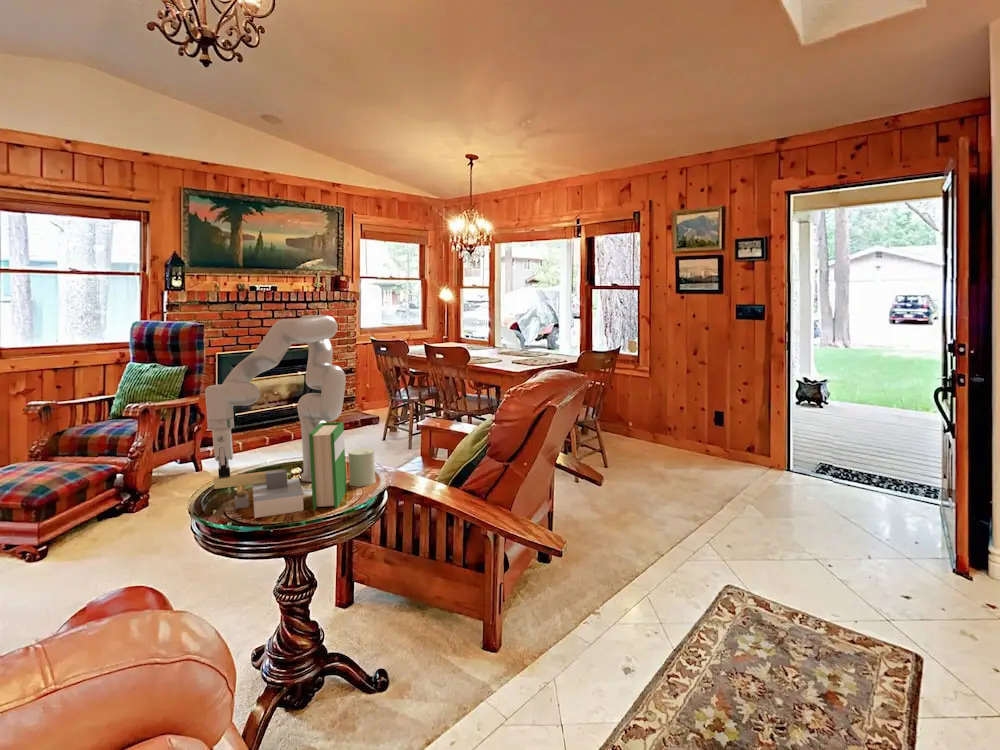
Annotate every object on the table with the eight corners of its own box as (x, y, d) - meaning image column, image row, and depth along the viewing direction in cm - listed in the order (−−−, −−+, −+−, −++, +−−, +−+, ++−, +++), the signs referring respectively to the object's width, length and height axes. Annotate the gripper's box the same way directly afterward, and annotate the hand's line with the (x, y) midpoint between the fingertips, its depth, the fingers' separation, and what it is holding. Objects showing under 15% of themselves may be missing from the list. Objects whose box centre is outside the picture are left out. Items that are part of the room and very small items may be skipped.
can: (362, 488, 196) (361, 454, 195) (343, 484, 201) (342, 451, 200) (381, 481, 204) (379, 448, 203) (362, 477, 209) (361, 445, 208)
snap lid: (299, 482, 187) (297, 463, 186) (302, 495, 174) (301, 474, 173) (253, 488, 181) (251, 469, 180) (253, 501, 168) (252, 480, 168)
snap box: (299, 495, 189) (298, 481, 188) (303, 510, 175) (302, 495, 174) (235, 504, 181) (234, 489, 180) (234, 521, 167) (233, 504, 166)
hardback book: (337, 508, 176) (333, 433, 174) (313, 509, 176) (309, 434, 173) (346, 490, 194) (343, 422, 191) (324, 491, 193) (320, 422, 190)
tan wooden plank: (283, 489, 186) (281, 469, 185) (283, 491, 183) (282, 471, 183) (215, 498, 177) (213, 477, 177) (214, 500, 175) (213, 479, 174)
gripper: (233, 426, 173) (237, 484, 175) (234, 418, 186) (238, 472, 188) (205, 429, 170) (210, 488, 172) (209, 420, 183) (213, 475, 185)
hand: (224, 479), depth 180 cm, fingers closed
